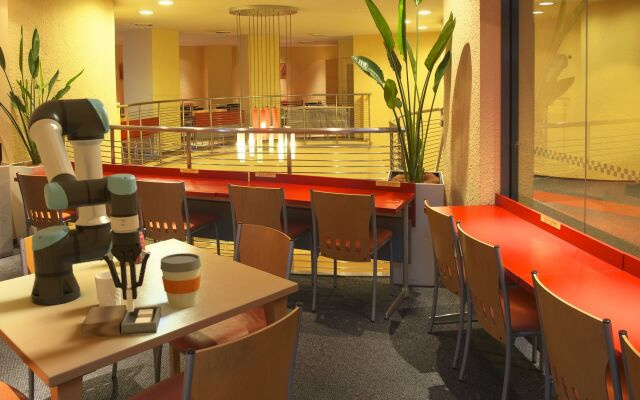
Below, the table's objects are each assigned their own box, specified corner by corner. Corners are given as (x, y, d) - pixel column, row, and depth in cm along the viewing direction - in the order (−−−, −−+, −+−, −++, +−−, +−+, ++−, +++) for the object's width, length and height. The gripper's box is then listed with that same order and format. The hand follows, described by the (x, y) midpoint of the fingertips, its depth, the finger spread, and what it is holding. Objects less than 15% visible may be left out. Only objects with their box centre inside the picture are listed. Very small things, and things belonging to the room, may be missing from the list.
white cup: (92, 306, 210) (89, 276, 208) (113, 299, 216) (111, 270, 214) (106, 311, 205) (104, 280, 203) (128, 304, 211) (125, 274, 209)
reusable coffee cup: (155, 304, 211) (152, 258, 208) (188, 294, 219) (186, 250, 216) (176, 313, 202) (173, 266, 199) (210, 303, 210) (208, 257, 208)
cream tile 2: (149, 322, 187) (149, 328, 188) (150, 317, 191) (151, 323, 192) (134, 323, 187) (135, 329, 187) (136, 318, 191) (137, 324, 191)
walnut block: (83, 337, 184) (81, 324, 183) (92, 319, 198) (91, 307, 197) (120, 335, 185) (119, 321, 185) (127, 317, 199) (126, 304, 198)
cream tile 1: (151, 313, 194) (152, 319, 195) (153, 308, 198) (153, 315, 198) (137, 314, 194) (138, 320, 194) (139, 309, 198) (140, 315, 198)
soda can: (127, 260, 262) (125, 231, 259) (145, 258, 264) (143, 229, 261) (127, 265, 255) (125, 235, 253) (146, 263, 257) (144, 233, 255)
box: (121, 335, 186) (121, 324, 185) (128, 317, 199) (128, 307, 199) (156, 332, 187) (155, 322, 186) (161, 315, 200) (160, 305, 200)
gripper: (98, 234, 179) (105, 316, 184) (147, 231, 181) (153, 313, 186) (103, 227, 187) (109, 306, 191) (150, 225, 188) (155, 304, 193)
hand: (131, 310), depth 188 cm, fingers closed
